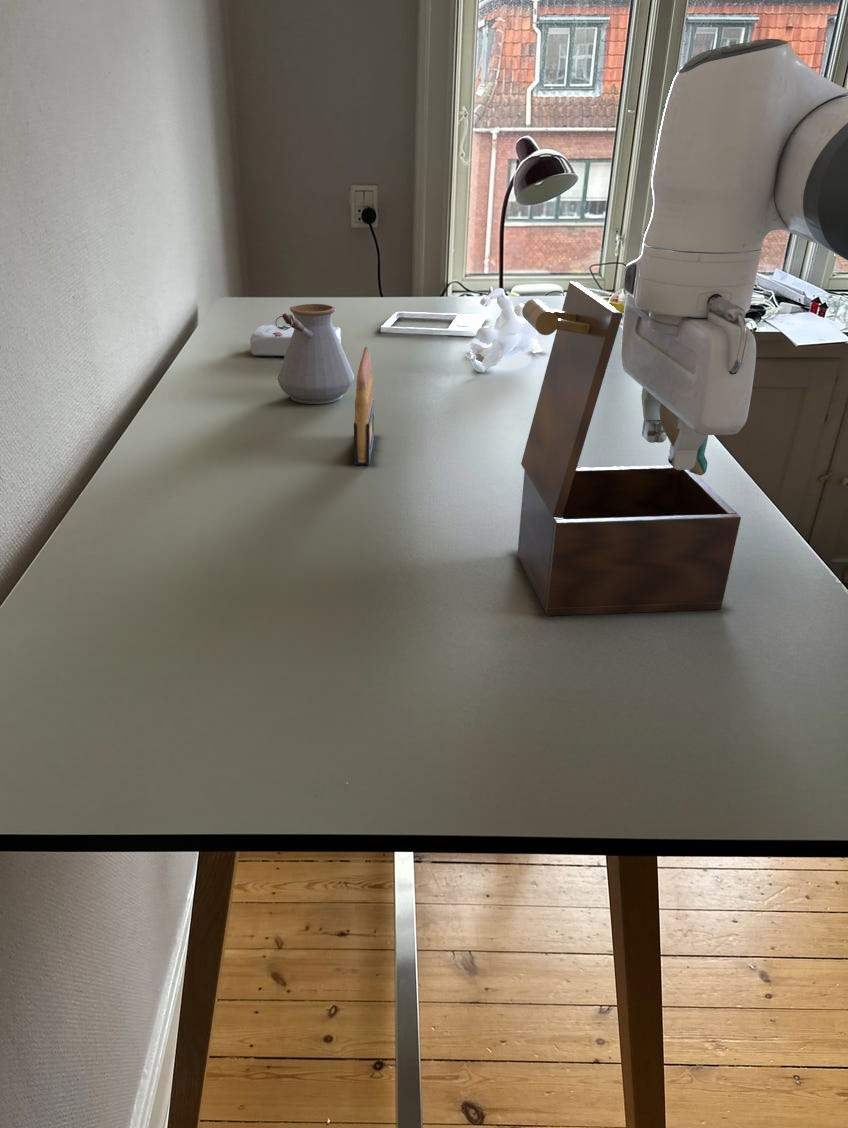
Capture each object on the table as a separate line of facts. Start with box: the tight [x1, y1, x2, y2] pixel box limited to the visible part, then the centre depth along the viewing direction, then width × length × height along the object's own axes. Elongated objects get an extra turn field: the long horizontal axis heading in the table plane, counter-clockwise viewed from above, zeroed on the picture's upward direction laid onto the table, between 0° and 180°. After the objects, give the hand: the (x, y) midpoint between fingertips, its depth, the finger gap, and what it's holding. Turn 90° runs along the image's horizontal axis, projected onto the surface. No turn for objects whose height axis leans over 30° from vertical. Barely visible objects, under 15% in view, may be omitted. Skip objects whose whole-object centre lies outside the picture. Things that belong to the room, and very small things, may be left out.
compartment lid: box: [520, 281, 624, 518], centre depth 76 cm, size 16×13×5 cm
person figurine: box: [466, 287, 543, 373], centre depth 151 cm, size 13×13×18 cm
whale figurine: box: [659, 403, 709, 476], centre depth 79 cm, size 6×7×4 cm
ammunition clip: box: [353, 346, 375, 466], centre depth 114 cm, size 11×2×12 cm, turn 176°
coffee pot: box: [274, 303, 355, 405], centre depth 130 cm, size 21×12×15 cm, turn 169°
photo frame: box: [380, 311, 486, 337], centre depth 179 cm, size 15×1×18 cm
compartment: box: [517, 464, 742, 617], centre depth 84 cm, size 16×13×9 cm
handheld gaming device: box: [249, 324, 342, 357], centre depth 161 cm, size 9×15×4 cm, turn 81°
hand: (666, 453), depth 80 cm, fingers closed on whale figurine, 5 cm apart
